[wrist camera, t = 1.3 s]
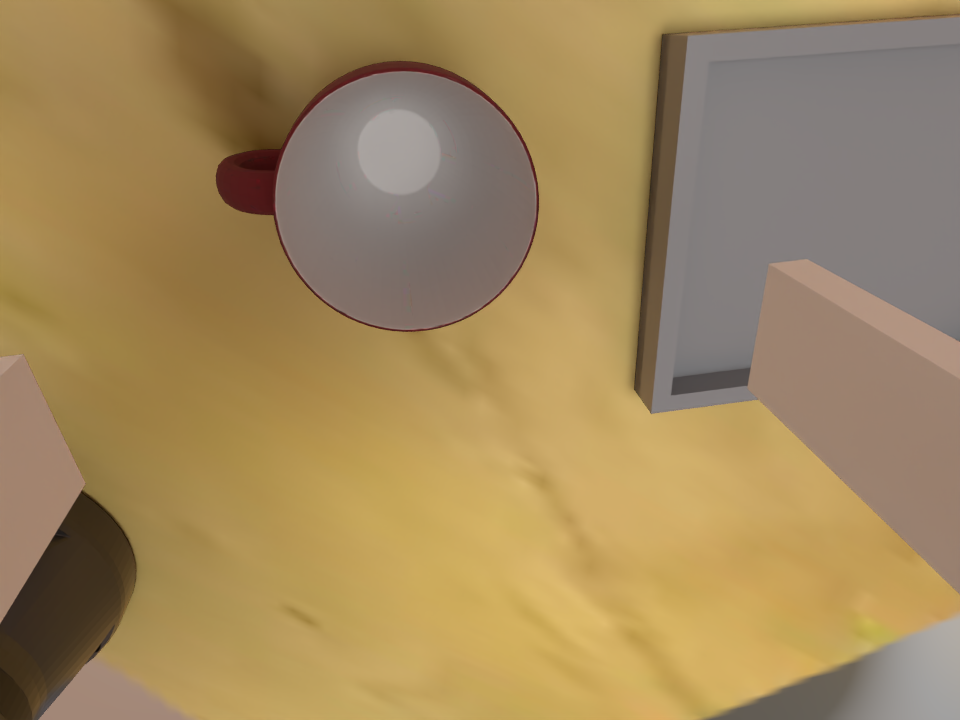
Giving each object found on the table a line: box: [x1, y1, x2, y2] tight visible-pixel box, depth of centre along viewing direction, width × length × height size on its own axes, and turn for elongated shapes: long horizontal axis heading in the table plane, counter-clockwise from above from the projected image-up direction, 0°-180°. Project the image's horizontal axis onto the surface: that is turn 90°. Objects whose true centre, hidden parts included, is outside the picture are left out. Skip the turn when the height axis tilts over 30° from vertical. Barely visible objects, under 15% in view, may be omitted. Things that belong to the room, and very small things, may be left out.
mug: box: [216, 61, 539, 332], centre depth 23 cm, size 11×8×10 cm
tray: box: [634, 14, 960, 414], centre depth 31 cm, size 22×18×2 cm
